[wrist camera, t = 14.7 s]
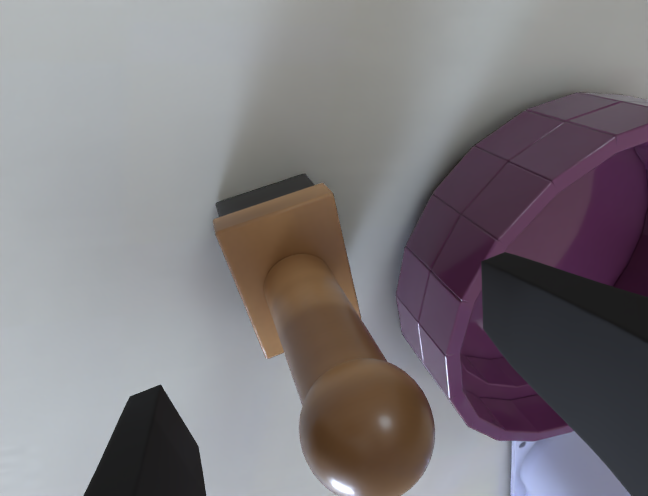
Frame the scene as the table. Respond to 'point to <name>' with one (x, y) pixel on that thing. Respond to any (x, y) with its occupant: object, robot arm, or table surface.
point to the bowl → (524, 243)
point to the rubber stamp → (324, 339)
